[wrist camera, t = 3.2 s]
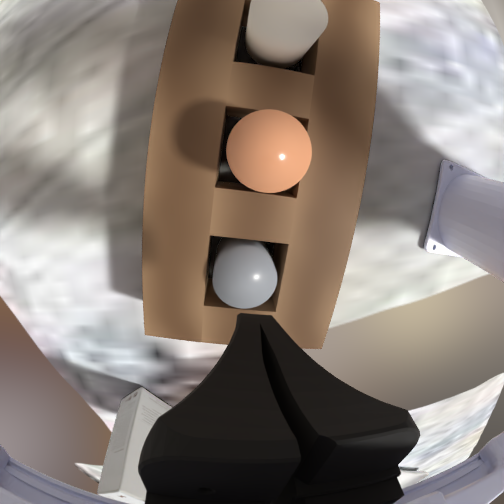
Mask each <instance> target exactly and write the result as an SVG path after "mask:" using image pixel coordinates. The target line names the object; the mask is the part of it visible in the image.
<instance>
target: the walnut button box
mask: <svg viewBox="0 0 504 504" xmlns="http://www.w3.org/2000/svg"><path fill="white" fill-rule="evenodd" d="M251 1H252V0H178V1H177V4H176V8H175V11H174V15H173V18H172V22H171V26H170V30H169V33H168V37H167V42H166V46H165V50H164V55H163V59H162V64H161V69H160V74H159V79H158V84H157V90H156V96H155V102H154V108H153V115H152V122H151V129H150V137H149V145H148V155H147V165H146V176H145V190H144V206H143V232H142V286H143V311H144V328H145V335H150V336H156V337H163V338H171V339H178V340H186V341H195V342H205V343H215V344H226V345H228V344H229V342H230V340H231V338H232V335H233V333H234V331H235V327H236V320H237V315H238V314H240V313H248V314H261V315H272V316H273V317H274V318H275V319H276V321H277V322H278V323H279V324H280V326H281V327H282V328H283V329H284V330H285V331H286V333H287V334H288V335H289V336H290V337H291V338H292V339H293V340H294V342H295V343H296V344H297V345H298V346H299V347H300V348H305V349H322V346H323V343H324V340H325V337H326V334H327V331H328V327H329V324H330V321H331V318H332V314H333V311H334V308H335V304H336V301H337V297H338V294H339V290H340V287H341V283H342V279H343V276H344V272H345V268H346V264H347V260H348V256H349V252H350V248H351V244H352V239H353V235H354V231H355V226H356V222H357V217H358V212H359V207H360V202H361V197H362V192H363V187H364V181H365V175H366V169H367V163H368V157H369V150H370V143H371V136H372V129H373V121H374V112H375V102H376V92H377V79H378V64H379V42H380V3H379V2H377V1H374V0H321V1H322V3H323V4H324V6H325V8H326V10H327V13H328V24H327V27H326V29H325V30H324V32H323V33H322V34H321V35H320V36H319V38H318V39H317V40H316V41H315V42H314V44H313V45H312V46H311V47H310V49H309V50H308V51H307V52H306V54H305V55H304V56H303V57H302V65H301V72H296V71H291V70H286V69H281V68H275V67H269V66H263V65H257V64H249V63H242V62H236V56H237V51H238V45H239V40H240V35H241V29H242V26H244V27H247V22H248V16H249V9H250V3H251ZM264 109H272V110H279V111H282V112H285V113H287V114H289V115H291V116H293V117H294V118H295V119H297V120H298V121H299V122H300V123H301V124H302V125H303V127H304V128H305V130H306V131H307V133H308V135H309V138H310V141H311V146H312V157H311V162H310V165H309V168H308V170H307V172H306V174H305V175H304V176H303V178H302V179H301V180H300V181H299V182H298V183H297V184H295V185H294V186H292V187H291V188H289V189H287V190H284V191H281V192H276V193H263V192H258V191H255V190H253V189H251V188H248V187H247V186H245V185H244V184H241V183H232V182H224V181H218V177H219V169H220V162H221V154H222V146H223V139H224V132H225V125H226V118H227V116H231V117H240V118H243V117H245V116H246V115H248V114H250V113H252V112H255V111H258V110H264ZM212 236H221V237H231V238H240V239H249V240H258V241H267V242H275V245H274V251H273V257H272V261H273V264H274V266H275V269H276V272H277V285H276V288H275V291H274V292H273V294H272V295H271V297H270V298H269V299H268V300H267V301H265V302H264V303H262V304H261V305H259V306H256V307H253V308H246V309H242V308H236V307H232V306H230V305H228V304H226V303H225V302H223V301H222V300H221V299H220V298H219V297H218V295H217V294H216V292H215V290H214V287H213V279H211V278H208V273H209V262H210V251H211V241H212Z"/></svg>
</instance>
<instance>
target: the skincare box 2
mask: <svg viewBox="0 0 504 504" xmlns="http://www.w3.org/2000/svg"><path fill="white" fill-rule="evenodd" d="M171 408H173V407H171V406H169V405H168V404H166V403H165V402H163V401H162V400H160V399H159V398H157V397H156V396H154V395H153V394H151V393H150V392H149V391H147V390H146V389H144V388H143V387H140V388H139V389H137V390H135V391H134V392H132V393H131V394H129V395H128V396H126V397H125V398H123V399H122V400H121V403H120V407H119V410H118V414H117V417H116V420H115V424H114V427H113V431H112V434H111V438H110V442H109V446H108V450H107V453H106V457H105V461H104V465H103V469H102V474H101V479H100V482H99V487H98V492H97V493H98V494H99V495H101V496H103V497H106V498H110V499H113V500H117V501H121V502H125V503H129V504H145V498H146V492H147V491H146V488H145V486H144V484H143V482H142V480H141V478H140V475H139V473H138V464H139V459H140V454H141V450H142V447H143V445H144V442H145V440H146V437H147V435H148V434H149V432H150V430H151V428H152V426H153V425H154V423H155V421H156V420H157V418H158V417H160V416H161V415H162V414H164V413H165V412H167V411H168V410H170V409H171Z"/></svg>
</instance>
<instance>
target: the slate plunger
mask: <svg viewBox="0 0 504 504" xmlns="http://www.w3.org/2000/svg"><path fill="white" fill-rule="evenodd" d="M276 285H277V272H276V269H275V266H274V264H273V261H272V258H271V256H270V253H269V250H268V248H267V245H266V243H265V241H258V240H249V239H240V238H231V237H222V238H221V240H220V241H219V243H218V246H217V249H216V256H215V263H214V271H213V287H214V290H215V292H216V294H217V295H218V297H219V298H220V299H221V300H222V301H223V302H225V303H226V304H228V305H230V306H232V307H236V308H242V309H246V308H253V307H256V306H259V305H261V304H262V303H264V302H265V301H267V300H268V299H269V298H270V297H271V295H272V294H273V292H274V291H275V288H276Z"/></svg>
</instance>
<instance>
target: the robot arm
mask: <svg viewBox="0 0 504 504" xmlns="http://www.w3.org/2000/svg"><path fill="white" fill-rule="evenodd" d="M449 166H450V167H451V168H449ZM433 245H434V247H433ZM432 247H433V248H432ZM424 249H425V250H426V251H427V252H431V253H438V254H444V255H450V256H456V257H462V258H465V259H466V260H468V261H470V262H471V263H473V264H475V265H476V266H478V267H480V268H481V269H483V270H485V271H486V272H488V273H490V274H491V275H493V276H495V277H496V278H498V279H499V280H501V281H502V282H504V182H500V181H495V180H491V179H487V178H485V177H483V176H481V175H479V174H477V173H475V172H473V171H471V170H469V169H467V168H464V167H462V166H460V165H458V164H456V163H453V162H451V161H449V160H443V161H442V163H441V168H440V175H439V181H438V186H437V192H436V197H435V202H434V206H433V211H432V216H431V220H430V224H429V228H428V232H427V236H426V240H425V244H424ZM419 437H420V431H419V429H418V427H417V426H416V424H415V422H414V421H413V419H412V417H411V415H410V414H409V412H408V411H407V410H405V409H402V408H399V407H396V406H393V405H390V404H387V403H384V402H382V401H379V400H377V399H375V398H373V397H370V396H368V395H366V394H364V393H362V392H360V391H358V390H356V389H354V388H353V387H351V386H349V385H348V384H346V383H344V382H343V381H341V380H339V379H338V378H336V377H335V376H333V375H332V374H331V373H329V372H328V371H326V370H325V369H324V368H323V367H321V366H320V365H319V364H317V363H316V362H315V361H314V360H313V359H312V358H311V357H310V356H309V355H307V354H306V353H305V352H304V351H303V350H302V349H301V348H300V347H299V346H298V345H297V344H296V343H295V342H294V340H293V339H292V338H291V337H290V336H289V335H288V334H287V333H286V331H285V330H284V329H283V328H282V327H281V326H280V324H279V323H278V322H277V321H276V319H275V318H274V317H273V316H272V315H261V314H248V313H240V314H238V315H237V320H236V327H235V331H234V333H233V335H232V338H231V340H230V342H229V344H228V346H227V348H226V349H225V351H224V353H223V355H222V356H221V358H220V359H219V361H218V362H217V364H216V365H215V366H214V368H213V369H212V370H211V372H210V373H209V374H208V375H207V376H206V378H205V379H204V380H203V381H202V382H201V383H200V384H199V385H198V386H197V387H196V388H195V389H194V390H193V391H192V392H191V393H190V394H189V395H187V396H186V397H185V398H184V399H183V400H182V401H181V402H179V403H178V404H177V405H175V406H174V407H173V408H171V409H170V410H168V411H167V412H165V413H164V414H162V415H161V416H160V417H158V418H157V420H156V421H155V423H154V425H153V426H152V428H151V430H150V432H149V434H148V435H147V437H146V440H145V442H144V445H143V447H142V450H141V454H140V459H139V464H138V473H139V475H140V478H141V480H142V482H143V484H144V486H145V488H146V491H147V492H146V498H145V504H489V503H490V502H491V501H493V500H494V499H495V498H496V497H497V496H499V495H500V494H501V493H502V492H503V491H504V432H502V433H501V434H499V435H498V436H496V437H494V438H493V439H492V440H490V441H489V442H488V443H487V444H486V445H485V446H484V447H483V448H482V449H481V450H480V451H479V453H478V454H476V455H475V456H473V457H471V458H469V459H467V460H465V461H463V462H462V463H460V464H458V465H456V466H454V467H452V468H450V469H448V470H446V471H444V472H441V473H439V474H437V475H435V476H433V477H430V478H428V479H426V480H423V481H421V482H418V483H416V484H413V485H411V486H408V487H405V488H403V489H402V488H401V486H400V483H399V481H398V479H397V477H399V476H400V475H401V471H400V469H399V467H398V464H399V463H400V462H401V461H402V460H403V459H404V458H405V457H406V456H407V455H408V454H409V453H410V452H411V450H412V449H413V448H414V447H415V445H416V444H417V442H418V439H419ZM0 504H129V503H125V502H121V501H117V500H113V499H110V498H106V497H103V496H100V495H96V494H93V493H90V492H87V491H84V490H82V489H79V488H76V487H73V486H71V485H68V484H65V483H63V482H61V481H58V480H56V479H54V478H51V477H49V476H47V475H45V474H43V473H40V472H38V471H36V470H34V469H32V468H30V467H28V466H26V465H25V464H22V463H21V462H19V461H17V460H15V459H13V458H11V457H10V456H9V454H8V453H7V451H6V450H5V449H4V448H3V447H2V446H1V445H0Z"/></svg>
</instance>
